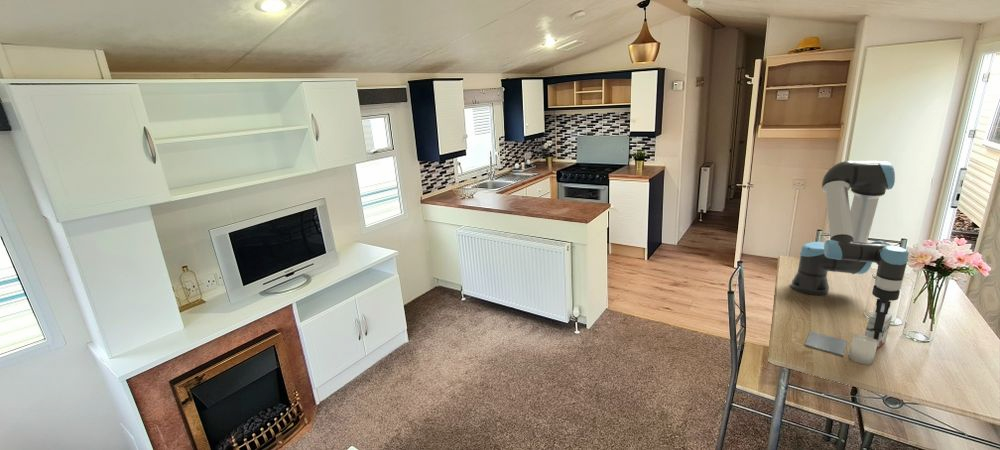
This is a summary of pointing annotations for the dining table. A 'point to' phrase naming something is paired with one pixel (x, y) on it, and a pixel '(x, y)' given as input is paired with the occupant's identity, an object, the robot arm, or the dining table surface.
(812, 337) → the slate tile
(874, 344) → the white rounded cylinder
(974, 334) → the dining table surface
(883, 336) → the ink box
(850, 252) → the robot arm
